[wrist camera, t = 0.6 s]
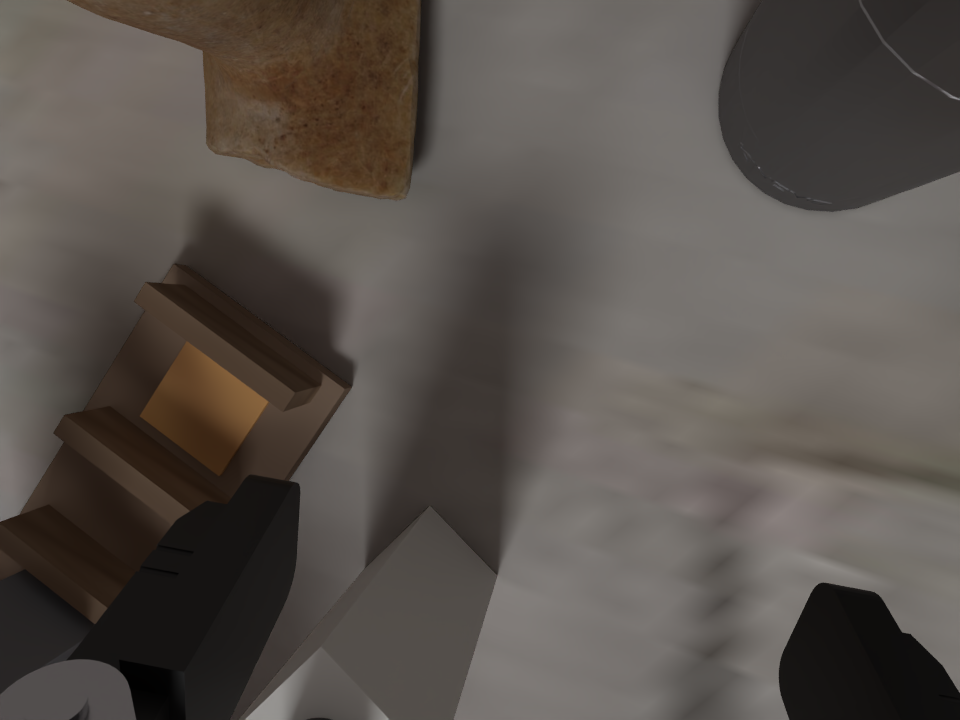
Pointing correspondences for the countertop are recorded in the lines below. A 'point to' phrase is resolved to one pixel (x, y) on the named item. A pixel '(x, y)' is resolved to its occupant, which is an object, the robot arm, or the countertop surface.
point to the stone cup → (301, 82)
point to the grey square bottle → (35, 627)
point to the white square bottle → (391, 636)
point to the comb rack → (166, 439)
